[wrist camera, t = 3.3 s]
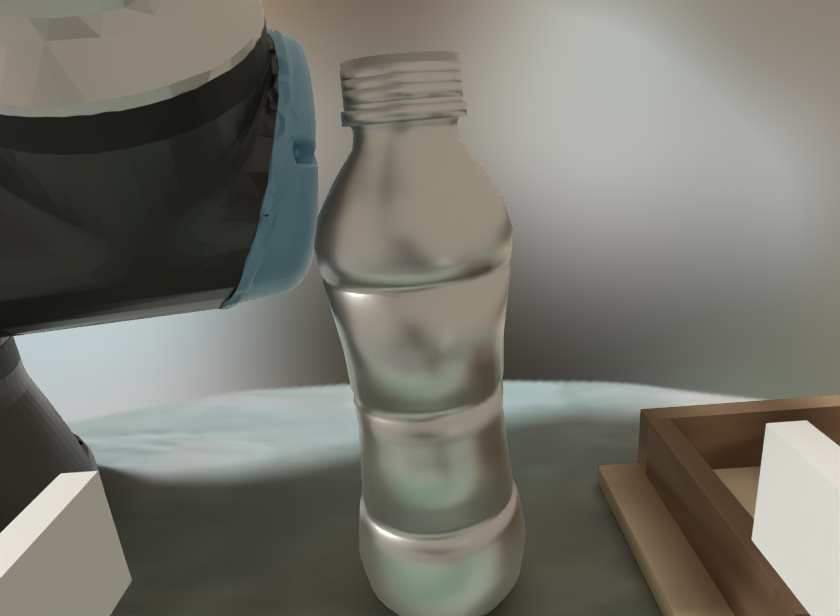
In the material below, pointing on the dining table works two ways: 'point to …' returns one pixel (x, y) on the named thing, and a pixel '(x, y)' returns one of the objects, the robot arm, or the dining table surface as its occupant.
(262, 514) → the dining table surface
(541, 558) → the dining table surface
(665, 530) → the open wooden box
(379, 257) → the plastic bottle
